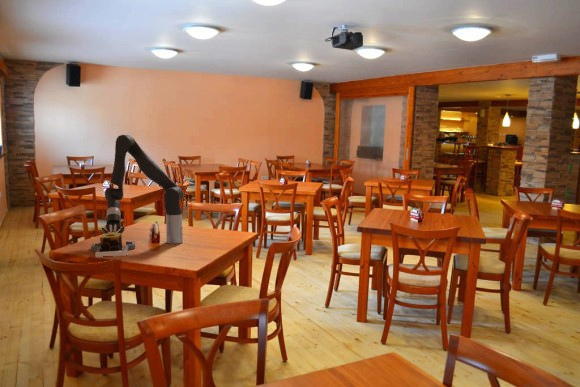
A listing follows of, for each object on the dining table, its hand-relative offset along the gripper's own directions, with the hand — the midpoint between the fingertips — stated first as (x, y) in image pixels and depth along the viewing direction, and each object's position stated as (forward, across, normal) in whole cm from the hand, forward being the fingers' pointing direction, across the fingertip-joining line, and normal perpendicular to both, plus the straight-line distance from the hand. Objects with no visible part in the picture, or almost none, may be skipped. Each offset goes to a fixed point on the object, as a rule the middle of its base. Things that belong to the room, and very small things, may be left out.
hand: (112, 242), depth 271 cm
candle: (+7, 0, -1) cm, 7 cm away
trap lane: (+5, 0, +1) cm, 5 cm away
